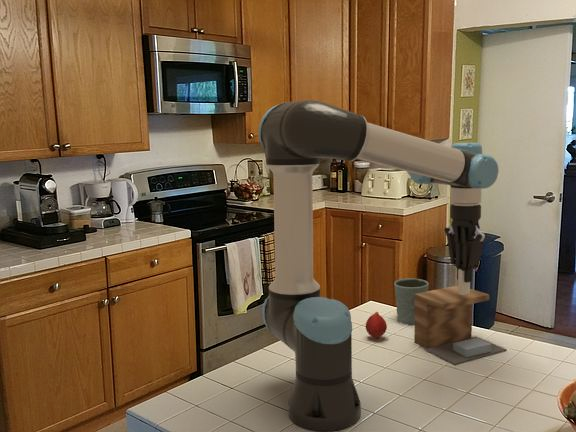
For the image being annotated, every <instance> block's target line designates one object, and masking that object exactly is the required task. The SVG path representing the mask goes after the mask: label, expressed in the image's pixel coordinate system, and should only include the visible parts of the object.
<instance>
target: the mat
mask: <svg viewBox="0 0 576 432" xmlns="http://www.w3.org/2000/svg"><path fill="white" fill-rule="evenodd" d="M474 338H479V339H481V340H483V341H485V342H488V343H490V344H491V351H490V352H487V353H483V354H479V355H475V356H471V357H465V356H463V355H461V354H459V353H457V352H455V351H453V343H456V342H461V341H465V340H470V339H474ZM424 351H425V352H427V353H429V354H431V355H433V356H435V357H436V358H439V359H441V360H443V361H445V362H447V363H449V364H451V365H454V366H456V365H457V366H458V365H460V364H463V363H467V362H470V361H474V360H478V359H479V360H480V359H481V358H485V357H489V356H493V355H496V354H501V353H504V352H507V351H508V349H507V348H504V347H502V346H500V345H497V344H495V343H492V342H490V341H487V340H485V339H483V338H480V337H478V336H471V338H467V339H463V340H459V341H455V342H451V343H447V344H443V345H439V346H435V347H431V348H427V349H425V348H424Z"/></svg>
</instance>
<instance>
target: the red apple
mask: <svg viewBox="0 0 576 432" xmlns="http://www.w3.org/2000/svg"><path fill="white" fill-rule="evenodd" d="M387 329H388V323H387V321H386V320H385V319H384V318H383V316H382V315H380V314H379V311H375V312H374V313H373V314H371V315H370V316H369V317H368V319H367V320H366V322H365V331H366V332H367V333H368V335H370V337H372V338H374V339H375V340H379V339H380V338H381V337H382V336H384V335H385V333H386V331H387Z"/></svg>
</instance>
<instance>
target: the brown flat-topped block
mask: <svg viewBox="0 0 576 432" xmlns="http://www.w3.org/2000/svg"><path fill="white" fill-rule="evenodd" d="M487 301H490V294H488V293H486V292H482V291H479V290H476V289H472V288H470V293H468V294H464V295H461V294H458V284H457V285H453V286H449V287H444V288H437V289H432V290H428V291H427V292H422V293H416V294H415V325H414V337H413V338H414V339H413V340H414V342H413V343H414V344H415V343H416V344H415V345H417V344H418V345H417V346H419V345H420V347H421V346H422V348H424V350H425V349H427V348H431V347H435V346H439V345H443V344H447V343H451V342H455V341H459V340H463V339H467V338H471V337H473V335H472V328H473V326H472V325H473V304H477V303H482V302H487Z"/></svg>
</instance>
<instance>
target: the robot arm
mask: <svg viewBox="0 0 576 432" xmlns="http://www.w3.org/2000/svg"><path fill="white" fill-rule="evenodd" d="M258 125H259V126H258V131H257V132H258V139H259V142H260V145H261V146H262V148H263V149H264V151H265V160H266V162H265V165H266V167H267V169H269V170H270V171H271V172H272V174H273V213H274V214H273V215H274V217H273V218H274V219H273V220H274V221H273V222H274V224H273V225H274V227H273V228H274V267H275V268H274V269H275V270H274V273H275V274H274V275H275V278H274V280H273V281H272V282H271V283H270V284H269V286H268V296H267V298H265V300H264V301H263V305H262V309H261V310H262V313H261V314H262V320H263V323H264V325H265V327H266V328H267V329H268V330H269V332H270V334H271V335H272V336H273V337H274V338H276V339H277V340H278V341H281V343H283V344H284V345H286V346H287V347H288V348H289V349H290V350H292V351H293V352H294V354H295V355H294V357H295V360H294V361H295V379H294V382H293V386H292V390H291V393H290V397H289V399H288V405H287V407H288V408H287V409H288V417H289V418H290V420H291V421H292V422H293V423H294V424H296V425H297V426H299V427H302V428H305V429H308V430H312V431H318V432H319V431H320V432H321V431H323V432H329V431H330V432H331V431H339V430H342V429H346V428H348V427H350V426H352V425H354V424H356V422H358V421H359V420H360V418H361V411H362V409H361V408H362V407H361V406H362V405H361V400H360V398H359V394H358V392H357V388H356V385H355V383H354V379H353V372H352V371H353V368H352V367H353V366H352V365H353V364H352V362H353V357H352V355H353V354H352V347H353V345H352V343H353V342H352V341H353V340H352V336H353V335H352V332H353V323H352V316H351V311H350V310H349V308H348V306H346V305H345V304H344V303H343V302H341V301H339V300H337V299H335V298H330V299H329V298H328V297H321V285H320V284H319V283H318V281H316V280H315V279H314V222H313V221H314V215H313V214H314V212H313V211H314V207H313V205H314V204H313V203H314V202H313V201H314V199H313V197H314V196H313V194H314V191H313V185H314V184H313V183H314V182H313V173H314V171H315V170H316V169H317V168H318V167H319V166H320V159H335V160H341V161H344V162H345V161H346V162H348V163H349V162H353V161H355V160H361V161H364V162H368V163H373V164H377V165H381V166H385V167H387V168H393V169H396V170H401V171H404V172H409V176H410V178H411V180H412V181H413V182H414V183H416V184H418V185H430V184H431V185H432V184H437V185H447V186H450V194H449V195H450V199H449V200H450V201H449V202H450V203H451V204H450V206H449V208H450V209H449V212H450V213H449V217H450V219H451V220H452V221H451V224H450V226H449V227H444V233H445V235H446V241H447V245H448V252H449V253H448V255H449V258H450V259H449V260H450V263H451V265H453V266H455V268H456V279H457V285H458V294H461V295H464V294H468V293H470V289H471V283H472V279H473V278H472V276H473V275H472V273H473V270H474V269H479V267H480V262H481V257H482V253H483V249H484V245H485V241H486V239H487V238H488V234H487V233H484V232H483V231H481V230H480V229H481V226H480V225H479V224H480V223H479V221H480V219H482V205H481V202H482V189H487V188H490V187H492V186H493V185H494V184H495V183H496V181H497V179H498V175H499V165H498V162H497V160H496V159H495V158H494V157H493V156H492V155H489V154H484V153H483V147H482V144H480V143H479V142H455V143H452V145H451V146H448V145H445V144H441V143H438V142H435V141H432V140H428V139H424V138H421V137H418V136H414V135H411V134H408V133H405V132H401V131H398V130H394V129H391V128H388V127H384V126H380V125H377V124H375V123H370V122H368V121H367V119H366V118H365V116H363V115H361V114H359V113H356V112H352V111H350V110H346V109H344V108H341V107H338V106H335V105H332V104H329V103H326V102H324V101H319V100H313V99H306V100H305V99H304V100H301V101H286V102H282V103H279V104H277V105H275V106H272V107H270V109H268V110H267V111H266V112H265V113H264V114H263V116H262V118H261V119H260V122H259V124H258Z"/></svg>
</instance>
